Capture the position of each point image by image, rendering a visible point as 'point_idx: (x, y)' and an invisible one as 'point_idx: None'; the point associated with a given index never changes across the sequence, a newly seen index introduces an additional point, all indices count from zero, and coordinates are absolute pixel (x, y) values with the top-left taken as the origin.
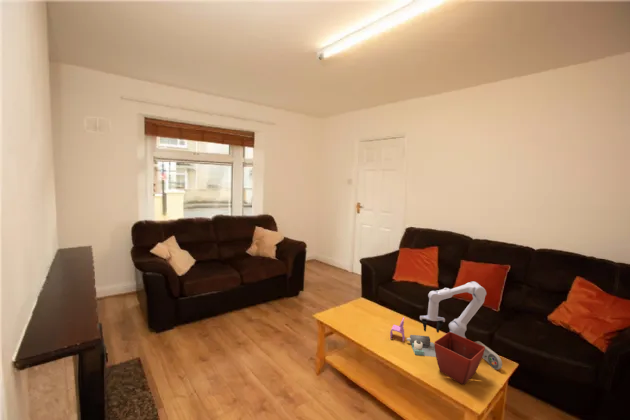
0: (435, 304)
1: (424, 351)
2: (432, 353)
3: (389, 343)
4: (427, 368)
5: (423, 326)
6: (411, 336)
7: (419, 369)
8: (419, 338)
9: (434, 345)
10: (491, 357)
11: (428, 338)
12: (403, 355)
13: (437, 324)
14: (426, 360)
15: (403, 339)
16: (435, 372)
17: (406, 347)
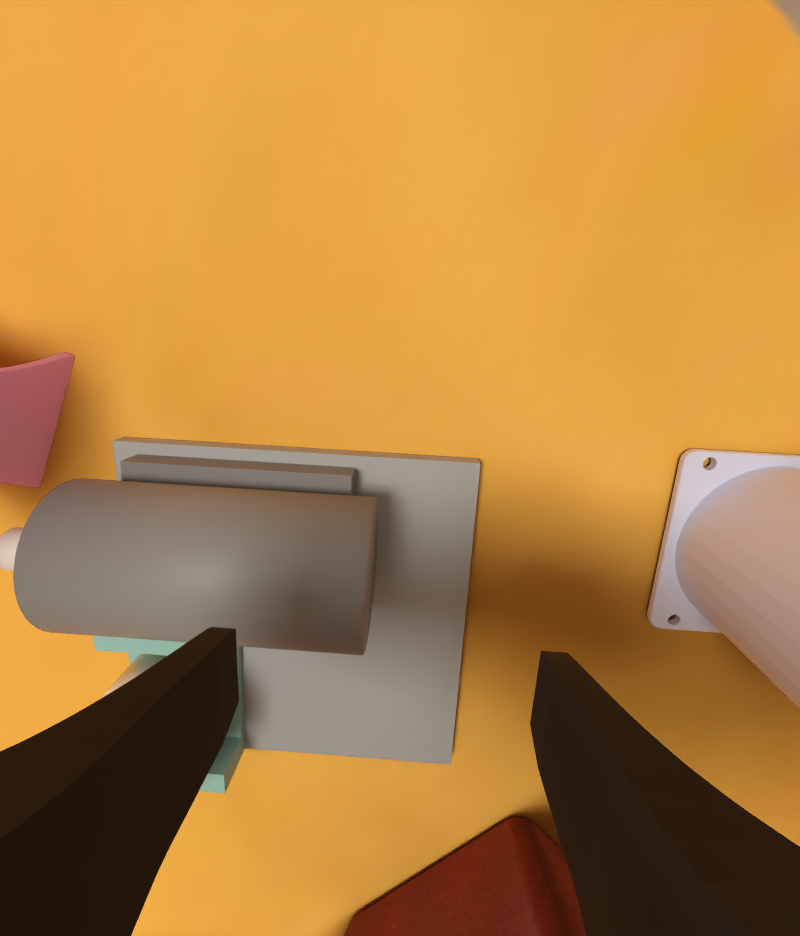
0: None
1: (276, 675)
2: (367, 706)
3: None
4: (243, 882)
5: (143, 678)
6: (27, 603)
7: (163, 894)
8: (171, 638)
9: (467, 537)
10: None
11: (334, 643)
12: (26, 722)
13: (628, 875)
14: (267, 783)
15: (8, 463)
16: (304, 922)
17: None
